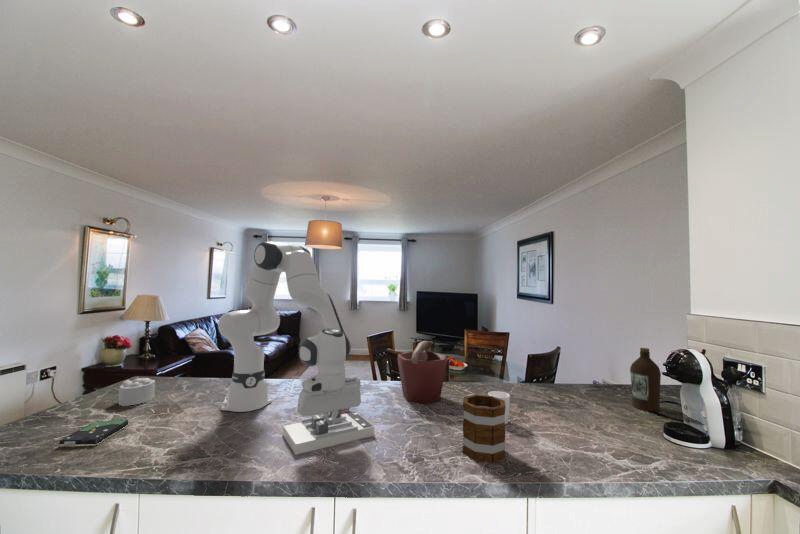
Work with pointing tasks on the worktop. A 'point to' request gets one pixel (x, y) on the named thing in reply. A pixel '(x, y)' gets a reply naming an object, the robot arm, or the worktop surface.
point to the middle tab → (316, 420)
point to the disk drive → (94, 432)
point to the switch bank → (342, 431)
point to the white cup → (504, 397)
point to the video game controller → (344, 411)
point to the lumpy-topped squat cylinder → (136, 391)
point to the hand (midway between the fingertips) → (329, 424)
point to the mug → (484, 428)
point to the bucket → (422, 374)
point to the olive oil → (645, 382)
